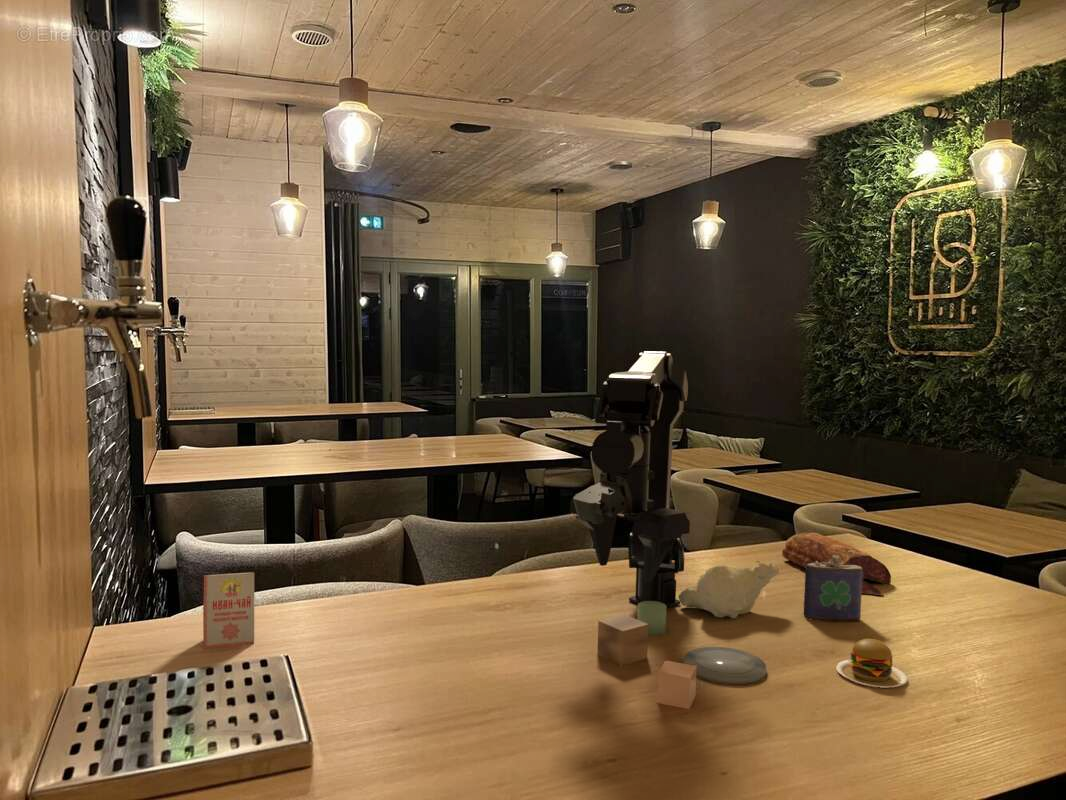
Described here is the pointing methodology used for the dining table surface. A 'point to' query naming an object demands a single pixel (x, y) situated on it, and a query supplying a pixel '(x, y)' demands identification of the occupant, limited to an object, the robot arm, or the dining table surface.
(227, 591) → the tea box
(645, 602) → the green tin
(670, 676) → the terracotta block
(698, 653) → the saucer
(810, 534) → the cured meat
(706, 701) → the dining table surface
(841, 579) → the flask
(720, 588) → the white lumpy piece
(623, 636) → the walnut block
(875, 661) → the hamburger
